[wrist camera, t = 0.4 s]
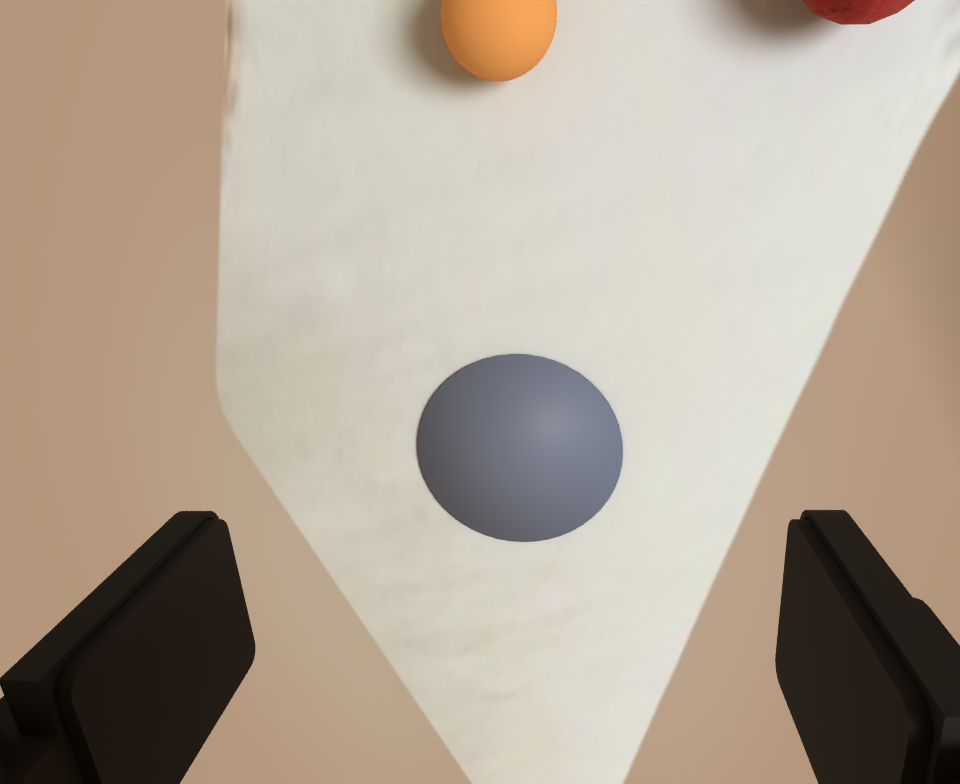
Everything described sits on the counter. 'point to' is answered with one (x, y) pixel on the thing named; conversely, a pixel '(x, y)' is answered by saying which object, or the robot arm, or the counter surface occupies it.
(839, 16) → the onion
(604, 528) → the counter surface
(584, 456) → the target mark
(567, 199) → the counter surface
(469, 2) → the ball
